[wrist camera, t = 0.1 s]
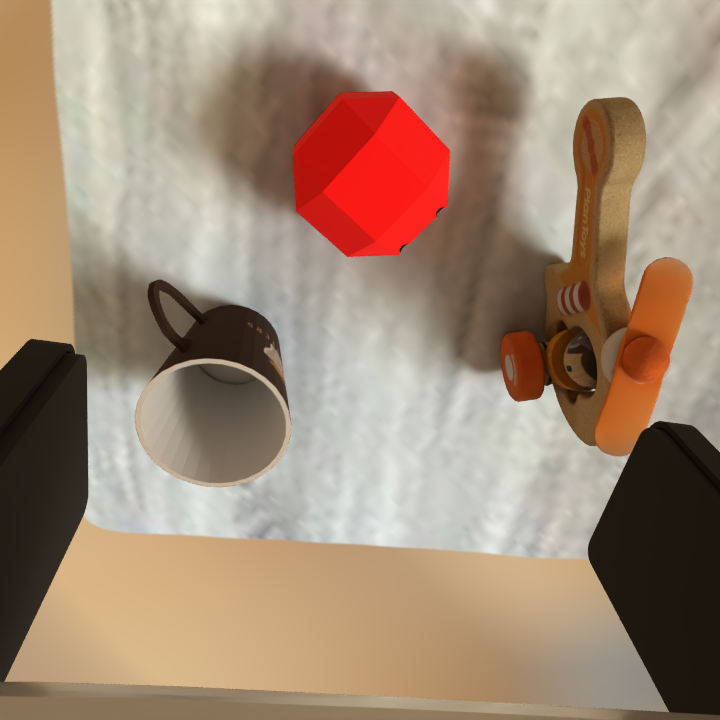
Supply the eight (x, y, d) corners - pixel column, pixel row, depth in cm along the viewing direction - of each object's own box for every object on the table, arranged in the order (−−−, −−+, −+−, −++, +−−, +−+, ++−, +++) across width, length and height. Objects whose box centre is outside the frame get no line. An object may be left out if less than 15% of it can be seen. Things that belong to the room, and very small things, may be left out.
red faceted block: (366, 250, 41) (376, 293, 34) (272, 165, 38) (264, 194, 31) (454, 159, 39) (484, 185, 32) (362, 61, 36) (374, 67, 29)
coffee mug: (294, 400, 46) (290, 487, 37) (175, 398, 45) (142, 486, 36) (297, 249, 41) (293, 309, 32) (163, 243, 40) (120, 302, 31)
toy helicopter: (499, 392, 47) (564, 516, 35) (499, 97, 37) (590, 127, 25) (605, 378, 47) (707, 497, 35) (633, 81, 37) (789, 103, 25)
